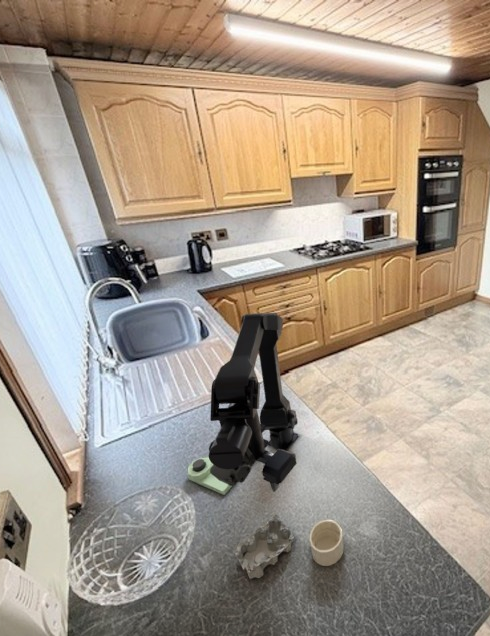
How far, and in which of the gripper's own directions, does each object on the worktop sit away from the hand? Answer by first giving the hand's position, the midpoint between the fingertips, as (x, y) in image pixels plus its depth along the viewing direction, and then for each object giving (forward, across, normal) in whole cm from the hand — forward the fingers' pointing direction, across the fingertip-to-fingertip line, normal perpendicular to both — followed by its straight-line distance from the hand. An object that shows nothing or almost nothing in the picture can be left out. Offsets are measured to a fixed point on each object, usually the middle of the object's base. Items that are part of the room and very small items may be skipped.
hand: (258, 482), depth 75 cm
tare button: (+8, -23, +2) cm, 25 cm away
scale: (+11, -19, +7) cm, 23 cm away
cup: (+11, +17, -1) cm, 20 cm away
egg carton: (+11, +5, -6) cm, 14 cm away
